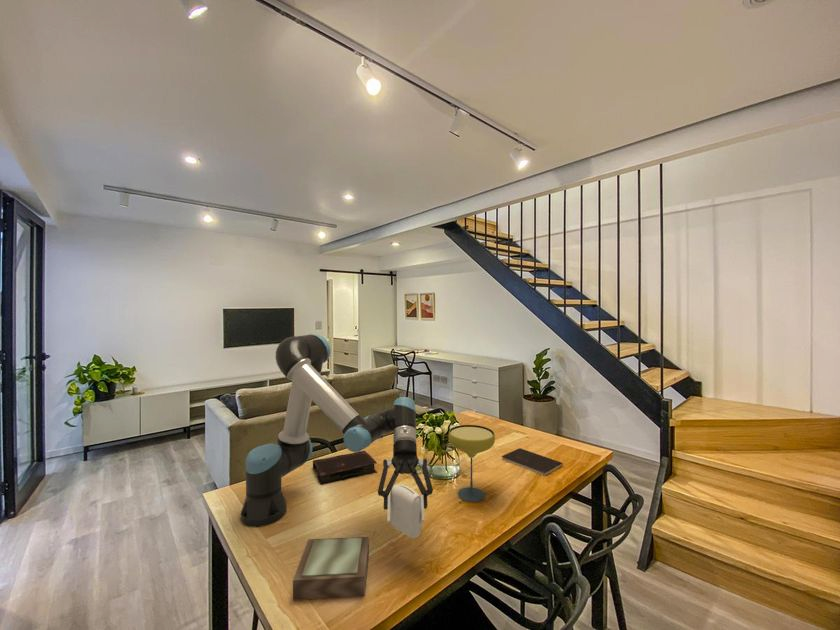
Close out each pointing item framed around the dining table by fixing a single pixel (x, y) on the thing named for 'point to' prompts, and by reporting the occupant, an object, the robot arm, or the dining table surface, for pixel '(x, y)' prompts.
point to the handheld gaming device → (418, 469)
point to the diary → (344, 467)
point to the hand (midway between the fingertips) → (405, 521)
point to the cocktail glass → (471, 452)
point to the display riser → (332, 568)
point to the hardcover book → (532, 461)
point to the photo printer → (405, 510)
